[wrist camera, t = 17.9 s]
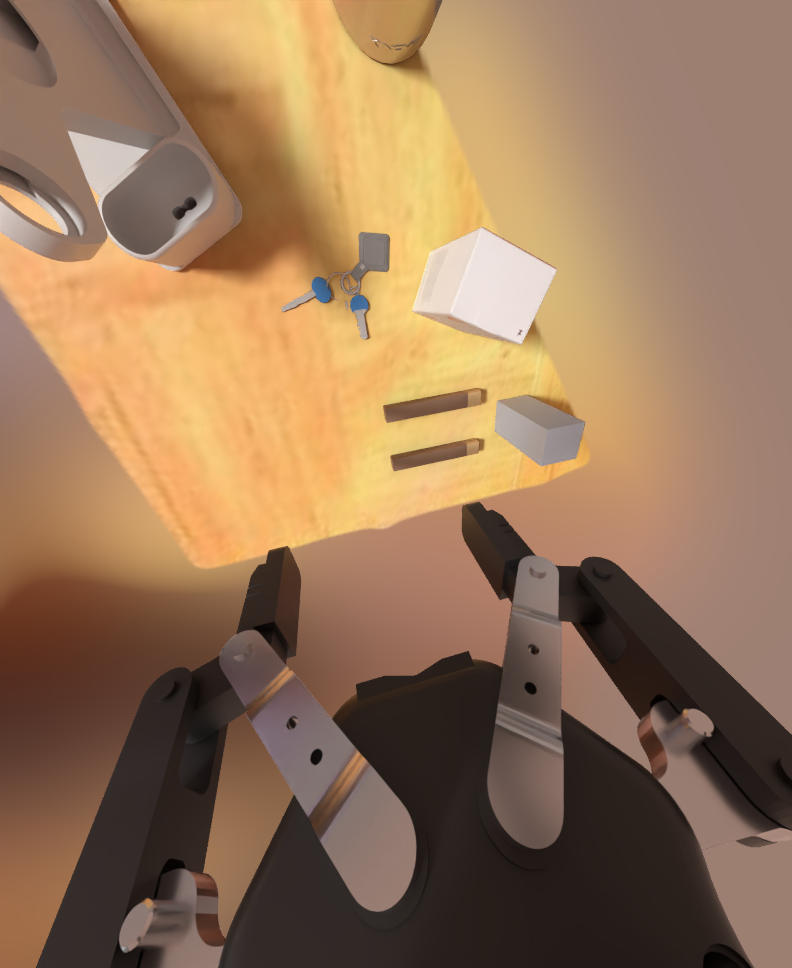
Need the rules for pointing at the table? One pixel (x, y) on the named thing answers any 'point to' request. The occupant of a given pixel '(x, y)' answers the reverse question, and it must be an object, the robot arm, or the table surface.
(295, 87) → the table surface
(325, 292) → the key chain
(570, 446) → the slate block
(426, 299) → the small box
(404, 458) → the pair of brown sticks
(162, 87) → the phone holder
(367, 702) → the robot arm
